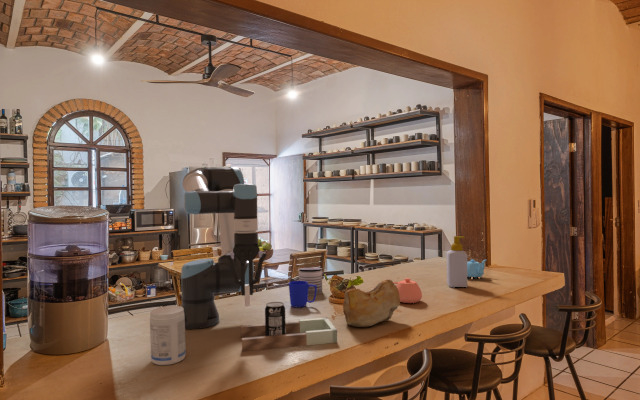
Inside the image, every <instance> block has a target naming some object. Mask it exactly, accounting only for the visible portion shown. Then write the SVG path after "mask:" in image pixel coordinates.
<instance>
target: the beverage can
mask: <svg viewBox="0 0 640 400" xmlns="http://www.w3.org/2000/svg"><path fill="white" fill-rule="evenodd" d="M265 305H266V306H265V308H264V319H265V320H264V324H265V336H274V335H285V334H286V327H285V322H286V307H285V303H284V302H281V301H270V302H267V303H266V304H265Z"/></svg>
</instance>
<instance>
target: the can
mask: <svg viewBox="0 0 640 400" xmlns="http://www.w3.org/2000/svg"><path fill="white" fill-rule="evenodd" d="M298 281H306V282H308V284H310V285H317V291H316V295H321V294H322V293H323V268H322V267H321V268H320V267H302V268H301V267H299V269H298ZM314 295H315V287H313V286H310V287H309V288H308V296H314Z"/></svg>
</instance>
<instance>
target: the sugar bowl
mask: <svg viewBox="0 0 640 400" xmlns="http://www.w3.org/2000/svg"><path fill="white" fill-rule="evenodd" d="M393 283H394V285H395V284H396V287H397V288H398V291H399V295H400V302H403V303H402V304H406V303H407V304H411V303H415V304H416V303H419V302H420V301H421V300H422V298H423V293H422V290H421V287H420V286H419V284H418V283H417V281H415V280H411V278H410V277H406V278H404V280H399V281H393Z"/></svg>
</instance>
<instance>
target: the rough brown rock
mask: <svg viewBox="0 0 640 400" xmlns="http://www.w3.org/2000/svg"><path fill="white" fill-rule="evenodd" d="M393 282H394V281H393V280H391V279H385V280H382V281H381V282H379V283H378V284H377V285H376V286H375V287H374V288H373V289H372V290H368V291H364V290H361V289H360V288H351V289H350V288H349V289H347V290H345V292H344V299H343V304H342V309H343V315H344V319H345V321H346V324H347V325H349V326H351V327H355V328H361V327H363V328H364V327H371V326H374V325H377V324H379V323H382V322H387V321H389V320H391V318H392V316H393V314H394V312H395V311H396V310H397V309H398V307H399V306H400V305H401V303H400V295H399V291H398V288H397V287H396V286H397V284H396V285H395V284H394V283H393Z"/></svg>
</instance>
